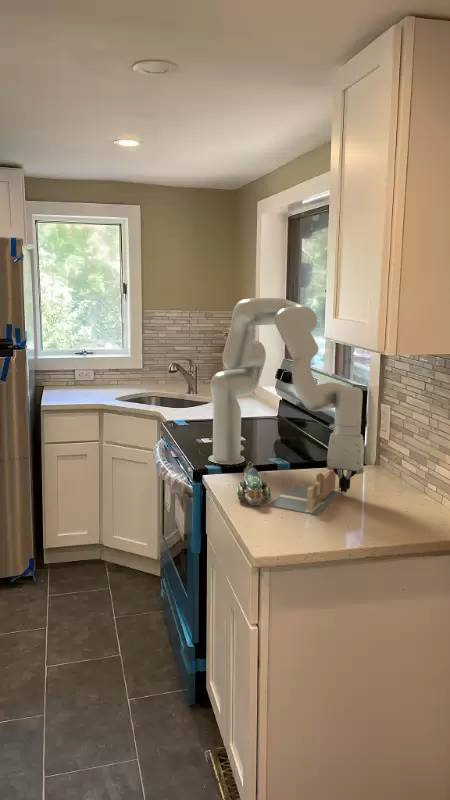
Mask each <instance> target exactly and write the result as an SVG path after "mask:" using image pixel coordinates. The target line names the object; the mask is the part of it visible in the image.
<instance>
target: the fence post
mask: <svg viewBox="0 0 450 800" xmlns="http://www.w3.org/2000/svg"><path fill="white" fill-rule="evenodd" d="M324 475H325V474H323V473H321V472H320V473H317V474H316V475H315V477H316V481H315V482H313V483H312V484H311V485H310V486H309V488H308V489H307V510H310V511H311V510H312V509H313V508H314V507H315V506H316V505H318V504H319V503H322V499H323V479H324Z"/></svg>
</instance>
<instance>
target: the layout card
mask: <svg viewBox="0 0 450 800" xmlns="http://www.w3.org/2000/svg"><path fill="white" fill-rule="evenodd" d="M309 487H310V486H309V485H303V484H298V483H296V484H293V485H291V486H290V487H288V489H286V490H285V491H283V492H282V493H280V495H278V496H277V497H276V498H274V499H273V500H272V501H270V502H269V503H268V504H267V505H266V506H267V507H271V508H275V509H276V508H277V509H283V510H287V511H292V512H297V513H302V514H303V513H304V514H308V515H315V516H320V515H321V514H322V513H323V512H324V511H325V510H326V509H327V508H329V506H330V505H331V504H333V502H334V501H335V500H337V498H339V496H341V495H342V494H343V492H340V491H337V490H333V491H332V492H331V493H330V494H329V495H327V496H326V497H325V498H324V499H322V503H319V504H318V505H316V506H315V507H314V508H313V509H312V510H311V511H310V510H307V489H308V488H309Z"/></svg>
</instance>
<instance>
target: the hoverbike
mask: <svg viewBox="0 0 450 800" xmlns="http://www.w3.org/2000/svg"><path fill="white" fill-rule="evenodd" d="M250 463H251V466H249V464H250ZM266 475H267V473H266V472H264V473H262V476H260V474H259V472H258V470H257V468H255V467H254V464H253V463H252V461H249V462H248V463H247V466H246V467H245V468H244V469H243V478H244V480H243V481H240V482H239V484H237V486H236V493H237V494H236V497H237V499H238V501H243V500H244V499H245V498H246V494H247V498H248V500H247V503H248V504H249V506H250V507H252V508H254V506H256V508H259V507H260V505H261V504H262V501H263V500H265V501H269V500H270V498H272V495H271V494H272V492H271V487H270V485H268V483H267V482H266V481H265V482H264V481H263V480H262V479H261V478H262V477H264V476H266ZM245 490H246V491H245ZM262 497H263V500H262Z"/></svg>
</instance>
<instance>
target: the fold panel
mask: <svg viewBox="0 0 450 800" xmlns="http://www.w3.org/2000/svg"><path fill="white" fill-rule="evenodd" d="M323 475H324V479H323V499H324V498H325V497H326V496H327V495H329V494H330V493H331V492H332V491H335V490H336V480H337V478H336V476H337V474H336V473H335V472H334V471H331V470H328V472H327V473H325V474H323Z"/></svg>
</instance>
